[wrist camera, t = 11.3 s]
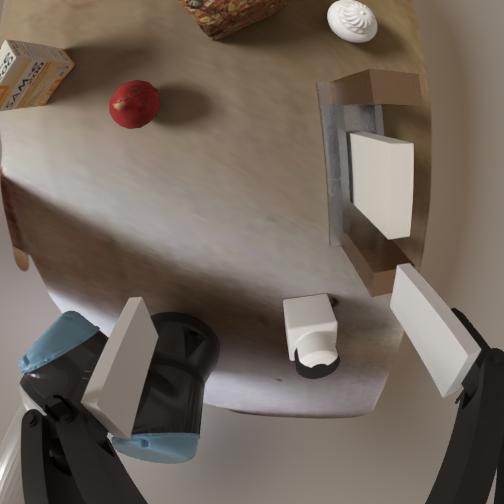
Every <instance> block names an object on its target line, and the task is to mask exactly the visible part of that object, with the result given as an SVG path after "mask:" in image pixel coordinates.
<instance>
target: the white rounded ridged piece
mask: <svg viewBox="0 0 504 504" xmlns="http://www.w3.org/2000/svg"><path fill="white" fill-rule="evenodd" d="M327 19H328V23H329V25H330V28H331V29H332V31H333V32H335V34H337V35H338V37H340V38H342V39H345V40H346V41H350V42H355V43H362V42H366V41H369V40H371V39H372V38H373V37H374V36H375V34H376V32H377V22H376V19H375V17H374V14H373V13H372V11H371V9H369V8H367V6H365V5H363V4H362V3H360V2H357V1H354V0H340V1H337V2H335V3H333V4H332V5H331V6H330V8H329V9H328V13H327Z"/></svg>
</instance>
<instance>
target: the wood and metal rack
mask: <svg viewBox="0 0 504 504" xmlns="http://www.w3.org/2000/svg"><path fill="white" fill-rule="evenodd" d="M316 88H317V95H318V102H319V109H320V118H321V126H322V135H323V145H324V156H325V167H326V181H327V196H328V216H329V244H330V246H331V247H334V246H342V248H343V250H344V251H345V253H346V254H347V256H348V258H349V259H350V261H351V263H352V264H353V266H354V268H355V269H356V271H357V273H358V274H359V276H360V278H361V279H362V281H363V283H364V284H365V286H366V288H367V290H368V291H369V293H370V295H371V297H373V296H379V295H384V294H388V293H393V287H394V282H395V276H396V270H397V265H400V264H406V263H410V265H411V266H412V267H413V268H414V269H415V265H414V264H413V262H412V261H411V260H410V259H409V258H408V257H407V256H406V255H405V254H404V253H403V251H402V250H401V249H400V248H399V247H398V246H397V245H396V244H395V243H394V242H393V241H392V240H391V239H387V238H386V237H385V236H384V235H383V234H382V232H381V231H380V230H379V229H378V228H377V227H376V226H375V225H374V224H373V223H372V222H371V221H370V220H369V219H368V218H367V217H366V216H365V215H364V214H363V213H362V212H361V211H360V210H359V209H358V208H357V207H356V206H355V205H354V204H353V203H351V202H350V193H349V169H348V153H347V140H346V132H368V133H372V134H377V135H381V136H384V127H383V114H382V105H400V106H422V99H421V89H420V81H419V74H412V73H404V72H396V71H386V70H374V69H368V70H365V71H362V72H359V73H355V74H352V75H349V76H346V77H344V78H341V79H338V80H335V81H332V82H330V83H316Z"/></svg>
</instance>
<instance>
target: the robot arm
mask: <svg viewBox="0 0 504 504" xmlns="http://www.w3.org/2000/svg"><path fill="white" fill-rule="evenodd" d="M390 308H391V310H392V311H393V313H394V314H395V316H396V317H397V319H398V321H399V322H400V324H401V325H402V327H403V329H404V330H405V332H406V333H407V335H408V337H409V338H410V340H411V342H412V343H413V345H414V347H415V348H416V350H417V352H418V353H419V355H420V357H421V358H422V360H423V362H424V364H425V366H426V367H427V369H428V371H429V373H430V375H431V376H432V378H433V380H434V382H435V384H436V386H437V387H438V389H439V391H440V393H441V395H442V397H443V398H444V397H446V396H448V395H450V394H453V393H455V392H456V391H457V389H458V388H459V386H460V385H461V384H462V386H463V387H464V390H463V391H462V392H461V394H460V395H459V397H458V398H457V399H456V402H455V403H456V404H457V403H458V401H459V400H460V404H459V408H458V412H457V417H456V420H455V424H454V428H453V432H452V435H451V439H450V442H449V445H448V448H447V451H446V454H445V458H444V460H443V463H442V465H441V468H440V471H439V473H438V476H437V478H436V481H435V483H434V486H433V488H432V490H431V492H430V495H429V497H428V499H427V501H426V503H425V504H486V502H487V499H488V496H489V493H490V490H491V486H492V483H493V480H494V476H495V472H496V469H497V479H496V489H495V497H494V504H504V352H503V351H502V350H500V349H498V348H492V349H491V348H490V347H489V346H488V344H487V343H486V342H485V340H484V339H483V338H482V336H481V335H480V334H479V333H478V331H477V330H476V329H475V328H474V327H473V325H472V324H471V323H470V322H469V320H468V319H467V318H466V316H465V315H464V314H463V313H462V312H460V311H459V310H457V309H456V308H452V309H450V308H449V307H448V306H447V305H446V304H445V302H444V301H443V300H442V299H441V298H440V297H439V295H438V294H437V293H436V292H435V291H434V290H433V289H432V287H431V286H430V285H429V284H428V283H427V282H426V281H425V280H424V279H423V277H422V276H421V275H420V274H419V273H418V272H417V271H416V270H415V269H414V268H413V267H412V266H411V265H410V263H406V264H400V265H397V270H396V276H395V282H394V287H393V293H392V298H391V303H390ZM99 329H100V328H99V327H98V326H94V325H93V324H92V323H90V322H89V321H88V320H87V319H85V318H84V317H83V316H82V315H81V314H79V313H78V312H75V311H67V312H65V313H63V314H62V315H61V316H60V317H59V318H58V319H57V320H56V321H55V322H54V323H53V324H52V325H51V326H50V327H49V328H48V329H47V330H46V331H45V333H44V334H43V335H42V336H41V337H40V338H39V339H38V340H37V341H36V342H35V343H34V345H33V346H32V347H31V348H30V349H29V350H28V352H27V353H26V354H25V355H24V356H23V357H22V359H21V360H20V361H19V363H18V367H19V368H20V371H21V372H22V373H25V374H24V376H23V377H22V379H21V381H20V383H19V388H20V392H21V395H22V403H21V405H20V407H19V409H18V411H17V412H16V414H15V416H14V419H13V420H12V422H11V424H10V426H9V429H8V430H7V433H6V435H5V437H4V439H3V441H2V444H1V446H0V504H148V503H147V502H146V501H145V499H144V498H143V496H142V495H141V493H140V492H139V490H138V489H137V487H136V486H135V484H134V483H133V481H132V479H131V478H130V476H129V474H128V473H127V471H126V469H125V468H124V466H123V464H122V462H121V461H120V459H119V457H118V455H117V454H116V452H115V450H114V448H115V449H116V450H117V451H119V452H120V453H122V454H125V455H127V456H130V457H133V458H136V459H140V460H144V461H149V462H155V463H166V464H176V463H184V462H187V461H189V460H191V459H192V458H193V457H194V456H195V454H196V450H197V445H198V439H199V438H200V426H201V415H202V406H203V396H204V387H205V383H206V381H207V379H208V378H209V376H210V374H211V372H212V371H213V369H214V367H215V365H216V364H217V361H218V357H219V341H218V339H217V337H216V335H215V334H214V332H213V331H212V330H211V329H210V328H209V327H208V326H207V325H205V324H204V323H202V322H201V321H199V320H197V319H195V318H193V317H190V316H188V315H184V314H180V313H172V312H165V313H158V314H155V315H152V316H150V315H149V313H148V310H147V308H146V305H145V303H144V300H143V298H142V297H134V298H129V300H128V301H127V303H126V305H125V307H124V309H123V311H122V313H121V315H120V317H119V319H118V321H117V323H116V325H115V327H114V329H113V331H112V333H111V335H110V337H109V338H108V337H107V336H106V335H105V334H103V333H102V332H101V331H100V330H99ZM108 432H109V433H111V434H112V435H113V436H114V437H112V444H111V442H110V440H109V439H108V438H107V434H108ZM112 445H113V446H112ZM113 447H114V448H113Z"/></svg>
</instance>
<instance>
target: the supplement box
mask: <svg viewBox="0 0 504 504" xmlns="http://www.w3.org/2000/svg"><path fill="white" fill-rule="evenodd" d="M75 65H76V64H75V63H74V62H73V61H72V60H71V58H70V57H69V56H68V55H67V53H66V52H65V51H64V50H63V49H60V48H56V47H51V46H46V45H40V44H35V43H29V42H22V41H14V40H7V39H6V40H5V41H4V43H3V44H2V46H1V48H0V111H5V110H12V109H19V108H27V107H37V106H44V105H45V104H46V102H47V101H48V99H49V98H50V96H51V95H52V94H53V92H54V91H55V89H56V88H57V87H58V85H59V84H60V83H61V81H62V80H63V79H64V78H65V77H66V75H67V74H68V73H69V72H70V71H71V70H72V69H73V67H74V66H75Z"/></svg>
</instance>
